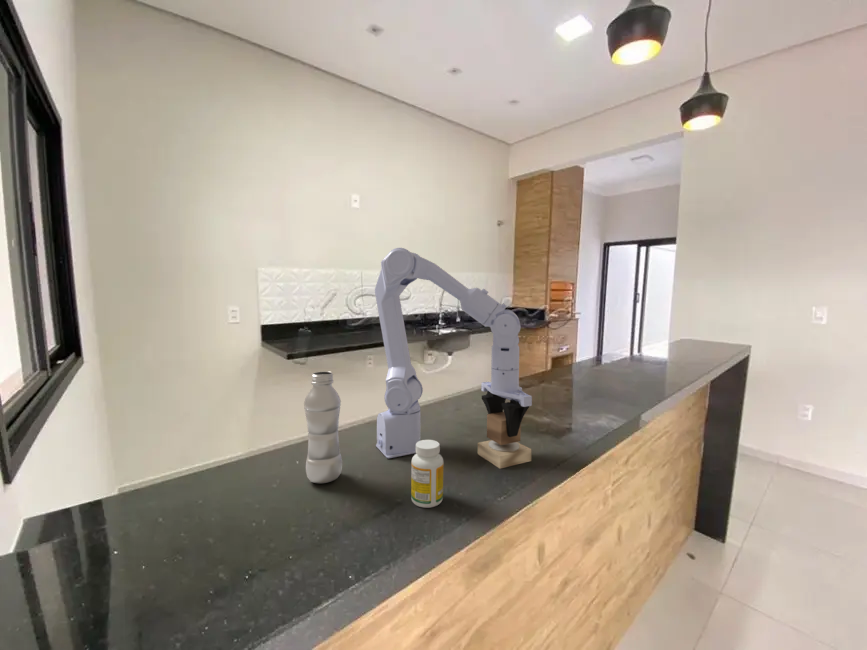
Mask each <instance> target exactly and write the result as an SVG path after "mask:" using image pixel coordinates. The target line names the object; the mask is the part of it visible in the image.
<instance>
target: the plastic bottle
mask: <svg viewBox="0 0 867 650" xmlns="http://www.w3.org/2000/svg"><path fill="white" fill-rule="evenodd" d="M333 375H334V374H333V371H326V370H325V371H324V370H323V371H316V372H313V373H311V385H312V387H311V389H310V390H309V392H307V394H306V397H305V399H304V402H303V406H304V413H305V419H306V425H307V426H306V427H307V432H308V433H307V436H308V440H307V441H308V444H307V456H306V460H305V461H306V462H305V473H306V477H307V479H308V480H309V481H310V482H311V483H315V484H326V483H330V482H333V481H335V480H337V479H338V477H339V476H340V474H341V473H342V470H343V469H342V468H343V460H342V459H343V458H342V455H341V450H340V449H341V448H340V441H339V440H340V439H339V422H340V421H339V419H340V413H341V405H342V404H341V402H342V401H341V397H340V395H339V393H338V392H337V390H336V388H334V386H333V385H332V384H334V376H333Z"/></svg>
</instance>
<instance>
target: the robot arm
mask: <svg viewBox="0 0 867 650" xmlns="http://www.w3.org/2000/svg"><path fill="white" fill-rule="evenodd" d="M380 268H381V269H380V272H379V275H378V278H377V281H376V284H375V287H374V295H375V301H376V305H377V306H376V307H377V313H378V318H379V324H380V329H381V335H382V341H383V346H384V351H385V357H386V363H387V368H388V370H387V372H386V373H387V374H386V377H385V385H386V386H385V388H386V389H385V393H384V402H385V405H386V406H387V410H385V411H383V412H379V413H378V414H377V417H376V444H375V446H376V447H377V449H378V450H379V451H380V452H381V453H382V454H383V455H384V457H385V458H386V459H392V458H397V457H402V456H408V455H413V454H416V443H417V442H418V441H421V405H420V403H419V400H420V398H421V397H422V395H423V391H424V388H423V385H422V382H421V381H420V379H418V378H419V377H418V376H417V372H416V371H417V370H416V369H415V368H414V366H413V364H412V361H411V356H410V349H409V344H408V343H409V342H408V338H407V334H406V333H407V331H406V326H405V322H404V315H403V308H402V304H401V303H402V302H401V298H400V297H401V295H402V293H403V292H404V291H405V289H406V288H407V287H408V286H409V285H410V284H412V283H413V282H414V281H416V280H417V279H418V280H419V279H420V280H424V281H425V280H426V281H429V282H432V283H433V284H435V285H436V286H438V287H439V288H440V289H442V290H443V291H445V292H446V293H448V294H449V295H451V296H452V297H454V298H455V299H457V300H459V302H460V308H461V310H462V311H463V312H464V313H465V314H467V315H468V316H470V317H471V318H472V319H474V320H475V321H477V322H478V323H479V324H481V325H482V326H484V327H486V328H487V327H489V328H490V331H491V333H492V345H491V366H490V367H491V371H490V372H491V373H490V374H491V375H490V376H491V377H490V381H483V382H481V384H480V385H481V386H480V387H481V392H487V393H486V394H483V395H481V400H482V402H483V404H484V405H485V409H486V410H487V414H492V413H499V412H504V413H505V417H506V429H507V435H508V436H509V437H513V436H517V435H518V431H519V427H520V424H521V425H522V422H523V421H522V420H523V419H524V416H525V414H526V413H527V411H528V410H529V408H530V407H531V406H532V405H533V403H532V402H533V395H531V394H528V393H526V392H524V391H523V387H521V386H520V346H519V344H520V337H519V334H520V331H521V329H522V328H521V327H522V326H521V323H520V319H519V317H518V315H517V314H516V313H515V312H514V311H513V310H511V309H506V308H507V307H508V306H507V304H505V303H502V304H501V303H500V302H498V301H497V300H496V299H494V298H493V297H492V296H490V295H489V291H488V290H487V289H486V288H482V289H480V288H479V287H472V288H468V287H466V285H464V284H463V283H462V282H460V281H459V280H457V278H455V277H454V276H452V275H451V274H449V273H448V272H447V271H445V269H443V268H442V267H440V266H439V265H437V263H435V262H433V261H431V260H428V259H426V258H425V257H422V256H421V255H419V254H418V253H415V252H411V251H409V250H408V249H407V248H405V247H395V248H393V249H391V250H390V251H389V252H388V253H387V254H386V255H385V256H384V258H383V259H382V260H381V262H380ZM506 400H508V401H507V402H506Z"/></svg>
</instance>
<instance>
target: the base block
mask: <svg viewBox="0 0 867 650" xmlns="http://www.w3.org/2000/svg"><path fill="white" fill-rule="evenodd" d="M477 455H478V456H480V457H481V458H483V459H484V460H486V461H488V462H489V463H490V464H492V465H494V466H495V467H496V468H498V469H505V468H508V467H513V466H516V465H520V464H525V463H528V462H529V463H530V462H532V448H531V447H528V446H526V445H524V444H523V443H521V442H514V443H509V444H504V445H500V444H498V443H496V442H495V441H493V440H491V439H489V440H486V441H480V442H477Z"/></svg>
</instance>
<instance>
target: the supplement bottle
mask: <svg viewBox="0 0 867 650" xmlns="http://www.w3.org/2000/svg"><path fill="white" fill-rule="evenodd" d="M440 446H441V445H440V443H439V442H438V441H437V440H434V439H422V440H421V439H420V441H418V442H417V443H416V453H414V455H413V456H412V458H411V464H410V465H411V466H410V467H411V470H410V471H411V473H410V474H411V476H410V481H411V485H410V487H411V488H410V489H411V491H410V496H411V497H410V498H411V502H412V503H413V504H414V505H415V506H417V507H419V508H424V509H425V508H428V509H429V508H434V507H437V506H438V505H440V504H441V503H442V501H443V499H444V457H443V456H442V454H440V450H441V447H440Z"/></svg>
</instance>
